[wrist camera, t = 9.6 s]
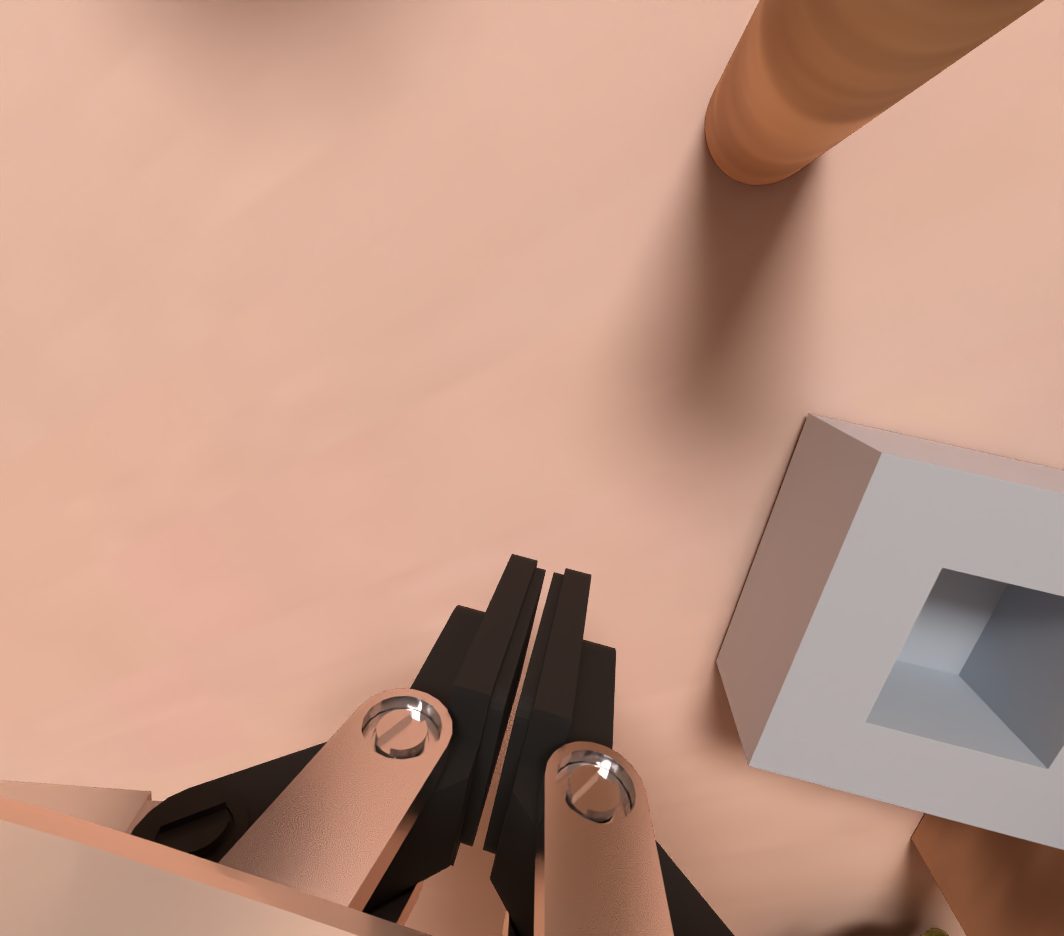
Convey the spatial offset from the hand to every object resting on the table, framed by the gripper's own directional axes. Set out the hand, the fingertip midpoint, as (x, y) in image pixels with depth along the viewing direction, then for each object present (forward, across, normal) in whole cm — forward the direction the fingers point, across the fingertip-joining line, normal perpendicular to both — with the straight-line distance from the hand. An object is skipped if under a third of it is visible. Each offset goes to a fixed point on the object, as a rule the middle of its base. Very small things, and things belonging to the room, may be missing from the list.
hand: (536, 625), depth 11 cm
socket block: (+9, -12, +1) cm, 15 cm away
